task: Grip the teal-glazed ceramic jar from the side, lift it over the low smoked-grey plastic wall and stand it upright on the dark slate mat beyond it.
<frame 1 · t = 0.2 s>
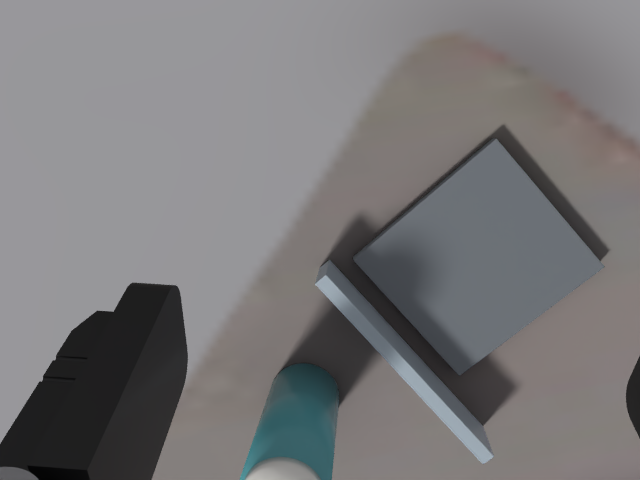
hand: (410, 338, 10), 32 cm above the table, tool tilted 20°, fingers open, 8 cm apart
wall: (403, 348, 44), on the table
jar: (304, 395, 46), on the table
mat: (474, 259, 42), on the table
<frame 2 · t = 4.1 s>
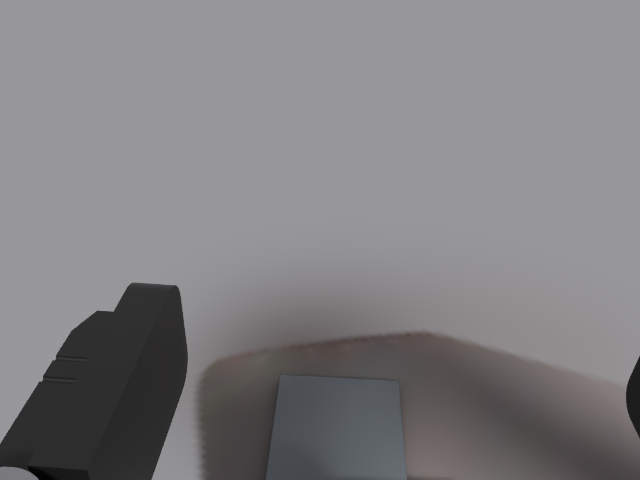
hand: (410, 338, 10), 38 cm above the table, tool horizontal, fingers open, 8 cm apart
mat: (337, 437, 54), on the table
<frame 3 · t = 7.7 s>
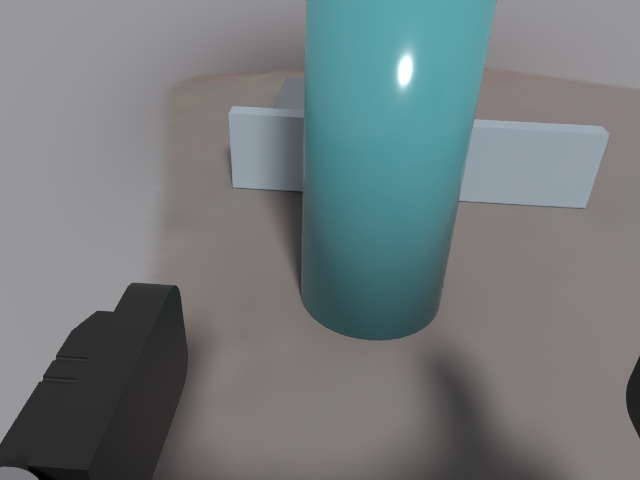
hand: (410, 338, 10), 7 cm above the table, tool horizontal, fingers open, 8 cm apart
wall: (406, 193, 30), on the table
jar: (369, 292, 23), on the table
mat: (367, 128, 37), on the table
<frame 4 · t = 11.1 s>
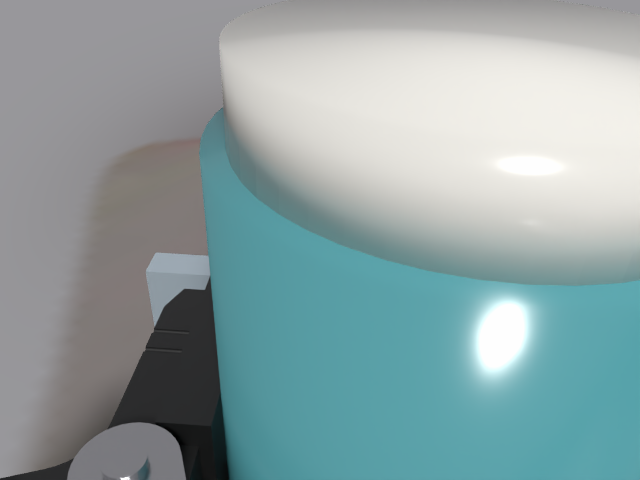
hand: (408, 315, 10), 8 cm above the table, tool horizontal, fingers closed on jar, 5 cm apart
wall: (429, 375, 20), on the table
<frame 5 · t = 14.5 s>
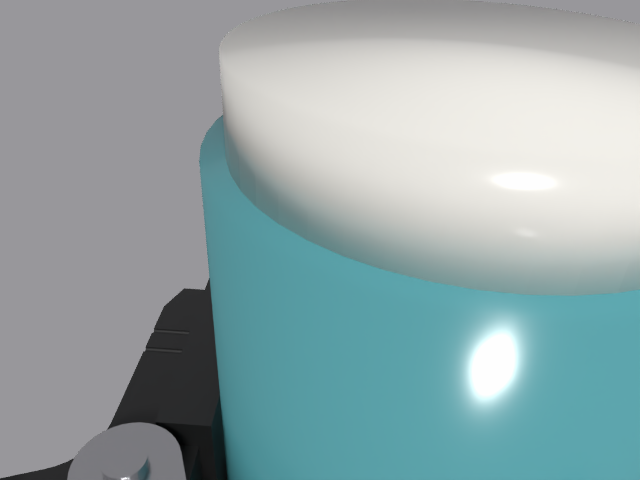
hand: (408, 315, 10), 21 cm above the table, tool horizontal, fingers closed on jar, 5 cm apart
when the fingers open (10 cm above the table, at t = 17.9 s): jar drops 1 cm, resting on mat.
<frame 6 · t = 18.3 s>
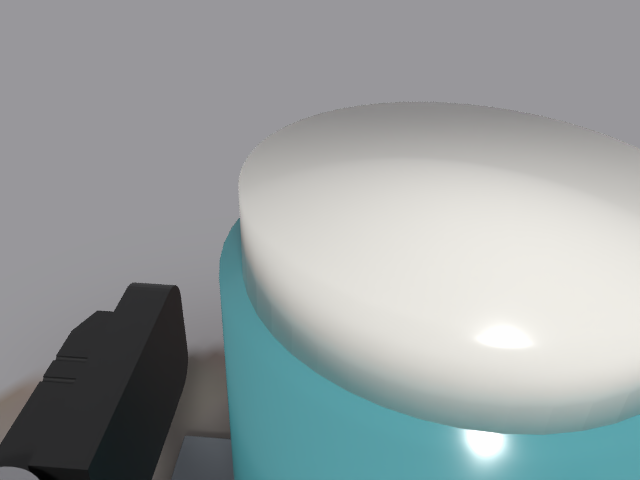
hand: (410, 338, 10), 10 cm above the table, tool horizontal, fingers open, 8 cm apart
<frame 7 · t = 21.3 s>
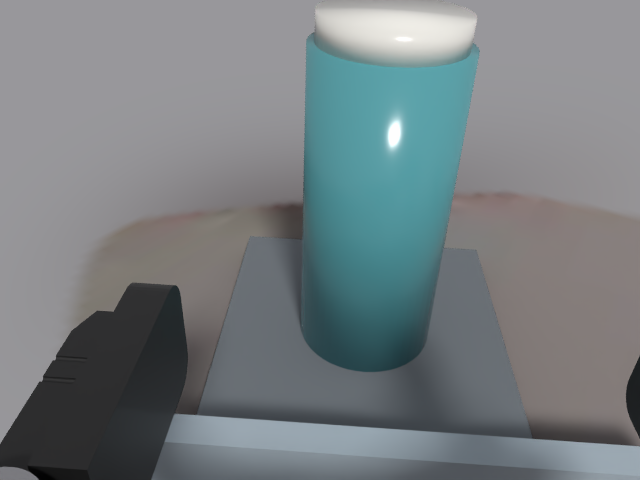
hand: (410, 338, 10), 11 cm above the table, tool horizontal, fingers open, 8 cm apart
jar: (363, 325, 25), point 1 cm above the table, touching mat
mat: (361, 341, 26), on the table
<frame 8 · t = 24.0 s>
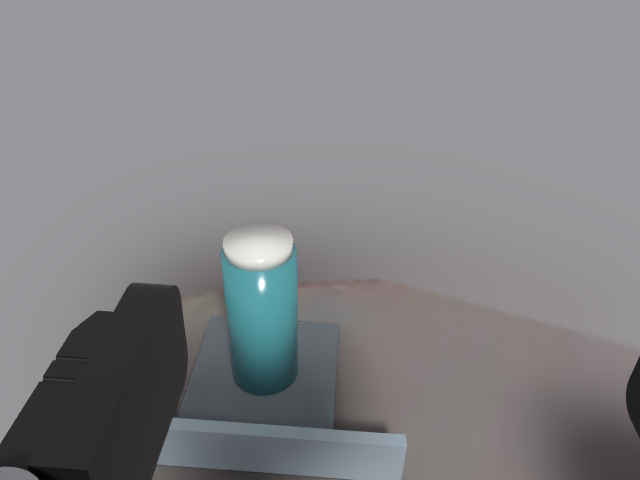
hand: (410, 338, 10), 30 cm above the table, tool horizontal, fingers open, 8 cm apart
wall: (275, 467, 42), on the table
jar: (265, 370, 49), point 1 cm above the table, touching mat
mat: (265, 378, 49), on the table
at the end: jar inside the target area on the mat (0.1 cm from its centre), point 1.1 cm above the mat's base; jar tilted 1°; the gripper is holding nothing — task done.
